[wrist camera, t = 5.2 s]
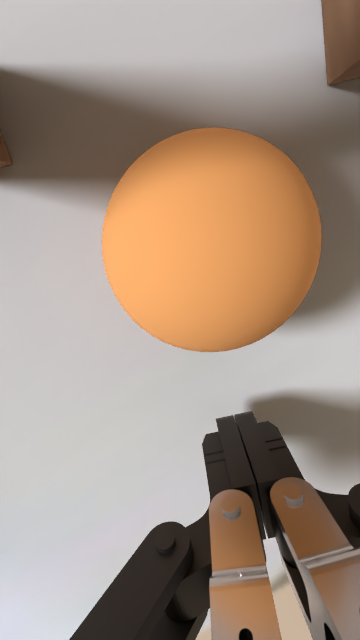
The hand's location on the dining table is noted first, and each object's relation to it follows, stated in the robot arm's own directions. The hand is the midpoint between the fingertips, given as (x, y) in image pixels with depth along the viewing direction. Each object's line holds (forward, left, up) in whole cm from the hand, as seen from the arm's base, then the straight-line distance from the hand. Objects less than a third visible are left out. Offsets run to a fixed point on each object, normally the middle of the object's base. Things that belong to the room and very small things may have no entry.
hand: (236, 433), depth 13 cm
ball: (+8, 0, +2) cm, 8 cm away
